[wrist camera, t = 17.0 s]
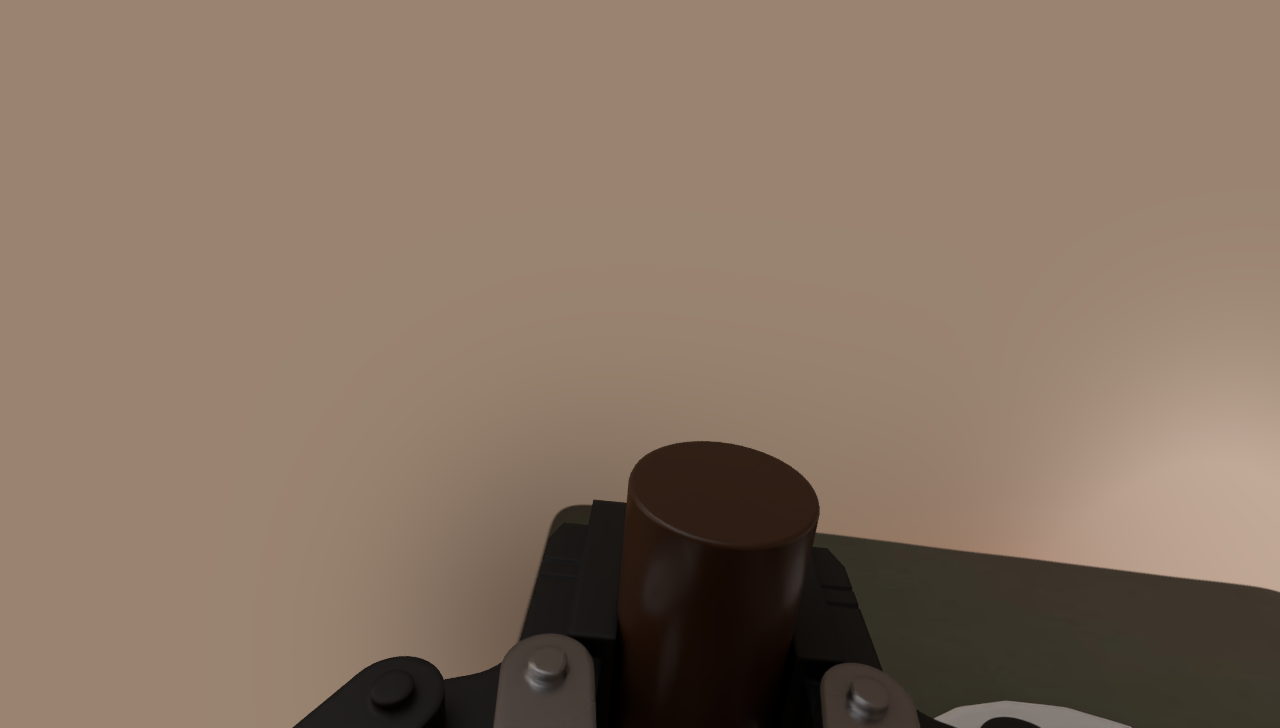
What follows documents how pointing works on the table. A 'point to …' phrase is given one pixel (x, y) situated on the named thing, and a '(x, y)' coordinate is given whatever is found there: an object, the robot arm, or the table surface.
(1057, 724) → the plate
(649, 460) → the knife
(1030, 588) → the table surface
